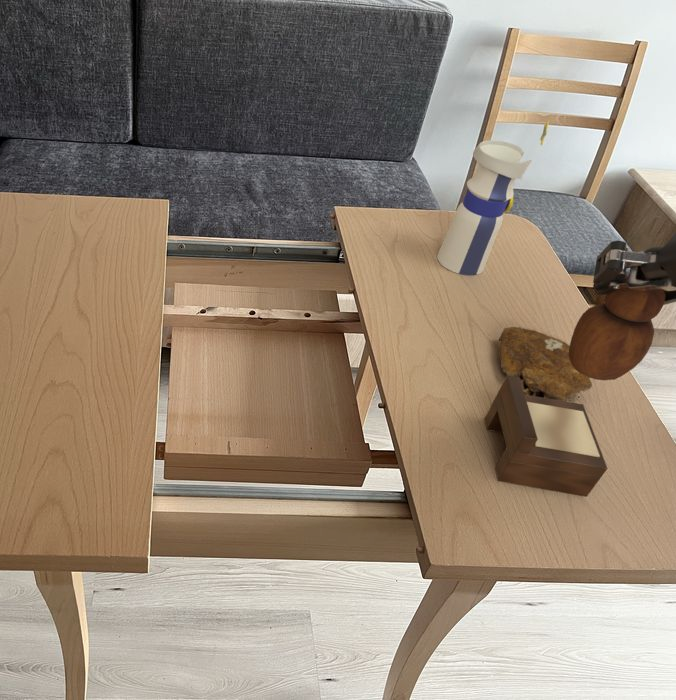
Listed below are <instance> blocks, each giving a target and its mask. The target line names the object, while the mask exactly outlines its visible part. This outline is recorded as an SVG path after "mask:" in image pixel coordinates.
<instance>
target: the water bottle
mask: <svg viewBox="0 0 676 700" xmlns="http://www.w3.org/2000/svg"><path fill="white" fill-rule="evenodd" d="M549 124H550V120H547V122H546V124H544V125H543V130H542V134H541V136H540V139H539V140H540V146H543V143H544V140H545V137H546V136H547V134H548V128H549ZM524 153H525V152H524V150H523V148H521V147H520V146H518V145H516V144H514V143H512V142H507V141H501V140H492V139H490V140H483V141H480V143H478V145H477V146H476V147H475V148H474V150H473V152H472V157H473V159H474V160H475V161H476V162H477V168H476V171H475V173H474V174H473V176H472V177H470V178H469V179H468V180H467V181H466V186H467V189H466V192H465V195H464V198H463V200H462V201H461V202H460V204H459V205H458V207H457V209H456V210H455V213H454V215H453V218H452V220H451V223H450V225H449V228H448V229H447V233H446V235H445V237H444V239H443V242H442V243H441V245H440V248H439V251H438V252H437V256H436V258H437V261H438V262H439V264H440V265H441V266H442V267H444V268H445V269H447V270H449V271H450V272H453V273H455V274H458V275H464V276H477V275H480V274H481V273H483V272H484V271H485V268H486V265H487V263H488V260H489V256H490V254H491V251H492V248H493V246H494V244H495V241H496V238H497V236H498V234H499V232H500V229H501V227H502V223H503V220H504V214H505V213H508V212H509V211H511V209H512V207H513V204H514V195H515V193H514V184H515V181H516V180H519V179H520V181H522V179H523V176H524V174H525V172H526V170H527V169H528V167H529V166H530V164H531V162H532V160H531V159H529V160H525V161H522V162H520V160H521V159H522V158H523V156H524Z"/></svg>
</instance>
